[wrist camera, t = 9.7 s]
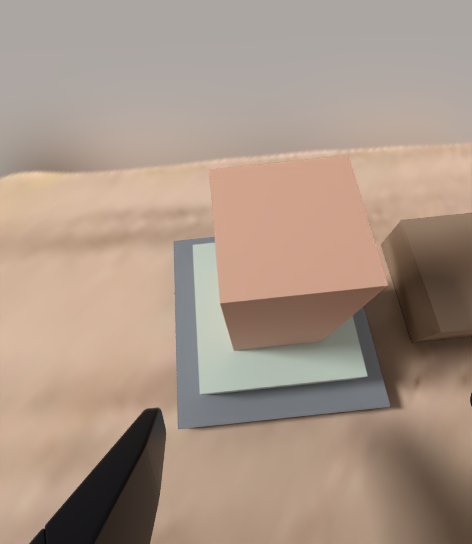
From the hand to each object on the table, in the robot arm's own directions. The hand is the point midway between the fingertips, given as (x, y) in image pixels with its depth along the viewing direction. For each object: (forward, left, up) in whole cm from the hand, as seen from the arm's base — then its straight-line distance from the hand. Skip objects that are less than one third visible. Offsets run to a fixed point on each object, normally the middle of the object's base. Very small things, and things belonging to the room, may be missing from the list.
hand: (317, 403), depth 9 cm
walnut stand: (+2, -12, -9) cm, 16 cm away
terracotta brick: (+5, -1, -6) cm, 8 cm away
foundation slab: (+5, -2, -8) cm, 9 cm away
